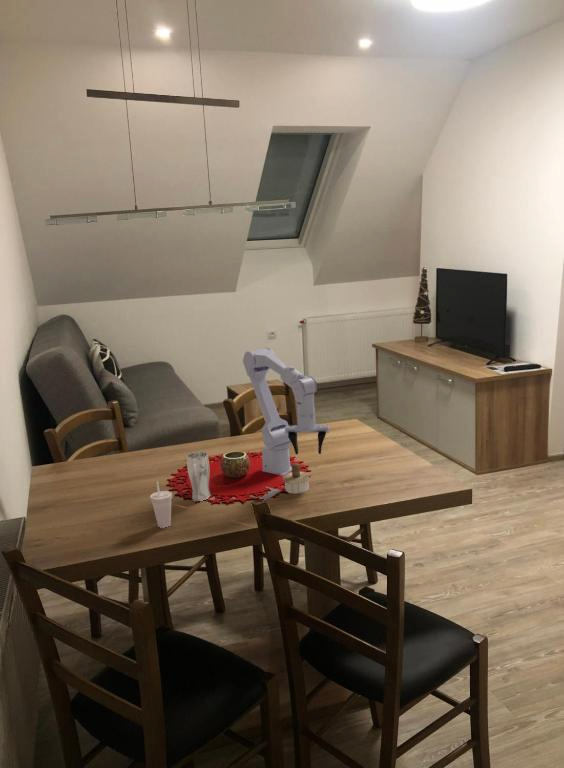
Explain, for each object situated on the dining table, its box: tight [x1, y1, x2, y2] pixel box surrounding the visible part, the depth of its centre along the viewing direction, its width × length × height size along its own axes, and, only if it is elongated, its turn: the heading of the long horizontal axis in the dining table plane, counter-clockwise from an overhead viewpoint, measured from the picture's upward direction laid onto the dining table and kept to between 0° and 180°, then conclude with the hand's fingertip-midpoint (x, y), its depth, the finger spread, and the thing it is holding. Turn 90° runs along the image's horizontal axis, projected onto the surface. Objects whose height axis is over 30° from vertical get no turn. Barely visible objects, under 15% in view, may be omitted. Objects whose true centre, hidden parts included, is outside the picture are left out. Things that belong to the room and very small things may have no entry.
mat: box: [255, 486, 283, 502], centre depth 207 cm, size 9×9×1 cm
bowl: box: [284, 480, 310, 495], centre depth 208 cm, size 8×8×4 cm
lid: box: [282, 462, 310, 484], centre depth 207 cm, size 9×9×5 cm
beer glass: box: [186, 451, 212, 502], centre depth 205 cm, size 7×7×15 cm
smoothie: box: [149, 480, 173, 529], centre depth 187 cm, size 6×6×14 cm
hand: (308, 453), depth 211 cm, fingers open, 7 cm apart
